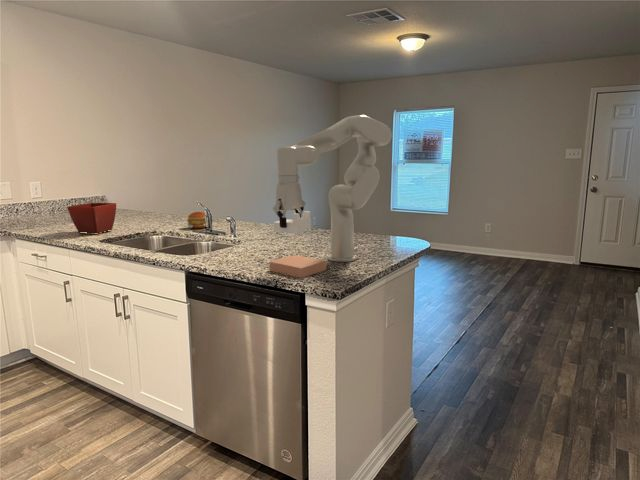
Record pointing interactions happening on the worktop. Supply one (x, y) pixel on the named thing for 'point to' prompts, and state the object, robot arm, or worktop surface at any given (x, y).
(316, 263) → the riser block
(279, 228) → the bracket
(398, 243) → the worktop surface
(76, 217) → the plant pot
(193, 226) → the burger
